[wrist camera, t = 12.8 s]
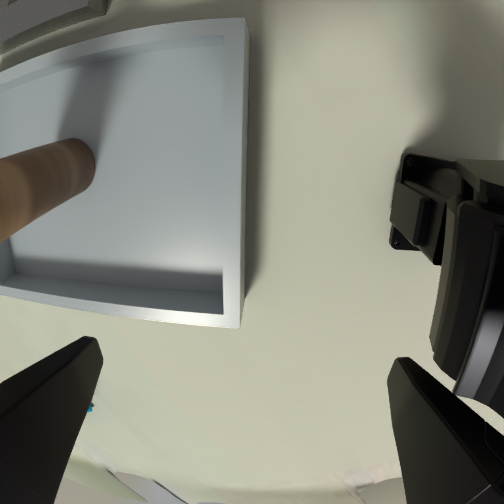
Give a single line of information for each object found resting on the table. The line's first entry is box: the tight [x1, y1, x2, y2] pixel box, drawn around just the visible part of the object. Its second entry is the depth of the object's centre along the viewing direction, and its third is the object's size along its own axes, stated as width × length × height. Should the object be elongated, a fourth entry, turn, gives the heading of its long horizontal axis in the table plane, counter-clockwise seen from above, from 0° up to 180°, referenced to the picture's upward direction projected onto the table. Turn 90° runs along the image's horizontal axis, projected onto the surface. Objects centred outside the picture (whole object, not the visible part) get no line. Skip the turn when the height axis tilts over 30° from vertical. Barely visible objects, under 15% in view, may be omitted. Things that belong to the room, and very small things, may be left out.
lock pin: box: [0, 138, 95, 243], centre depth 12 cm, size 4×4×14 cm
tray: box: [0, 18, 250, 329], centre depth 18 cm, size 22×18×4 cm
